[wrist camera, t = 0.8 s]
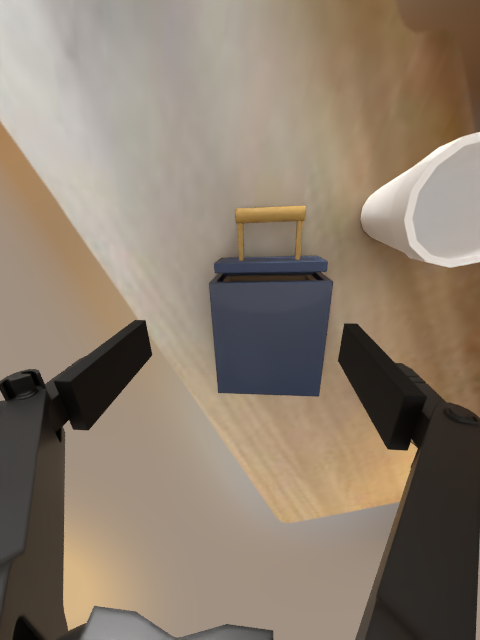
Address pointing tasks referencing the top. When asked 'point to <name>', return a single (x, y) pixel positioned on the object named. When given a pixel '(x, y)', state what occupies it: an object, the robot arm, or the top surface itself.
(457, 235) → the foam cup
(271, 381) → the cabinet
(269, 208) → the drawer
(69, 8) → the top surface
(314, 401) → the top surface
